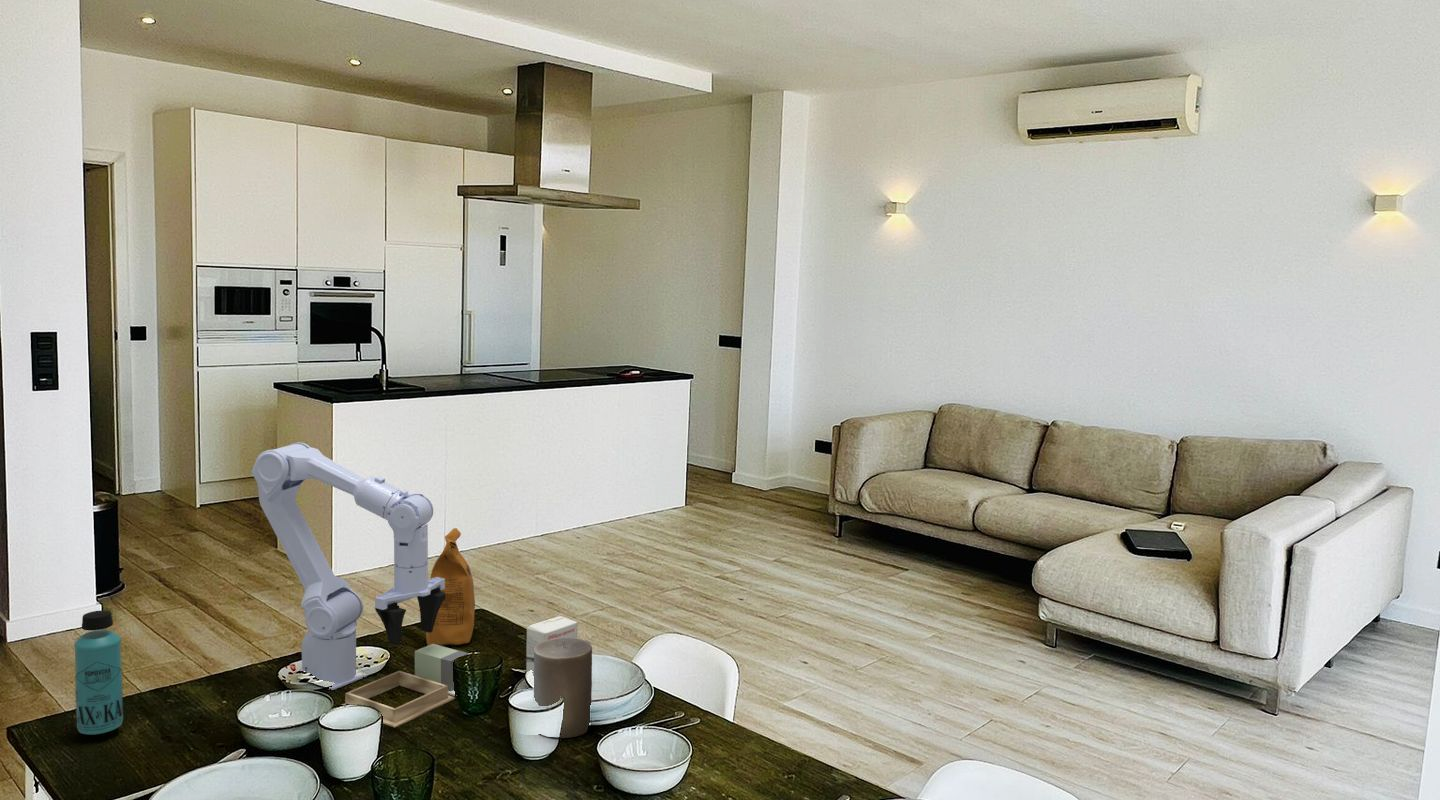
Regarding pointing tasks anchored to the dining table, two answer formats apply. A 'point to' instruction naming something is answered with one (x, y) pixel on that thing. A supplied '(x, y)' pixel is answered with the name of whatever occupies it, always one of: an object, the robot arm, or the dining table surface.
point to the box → (436, 664)
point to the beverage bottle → (98, 676)
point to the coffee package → (453, 596)
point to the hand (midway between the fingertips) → (411, 637)
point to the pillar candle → (565, 680)
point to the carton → (408, 711)
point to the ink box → (548, 635)
